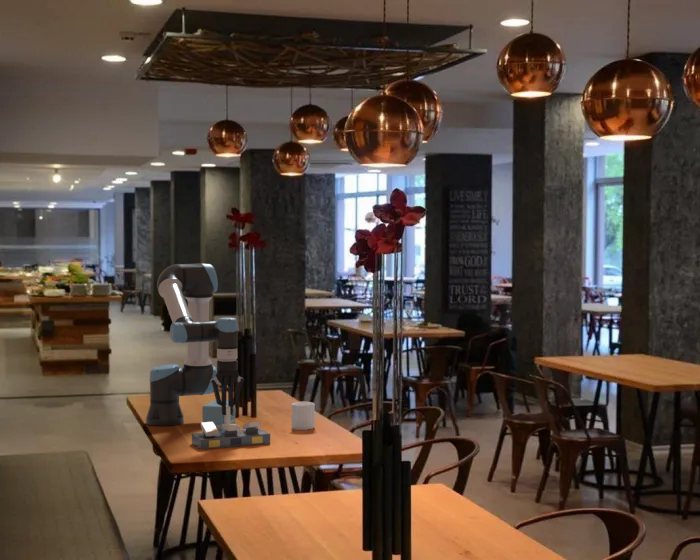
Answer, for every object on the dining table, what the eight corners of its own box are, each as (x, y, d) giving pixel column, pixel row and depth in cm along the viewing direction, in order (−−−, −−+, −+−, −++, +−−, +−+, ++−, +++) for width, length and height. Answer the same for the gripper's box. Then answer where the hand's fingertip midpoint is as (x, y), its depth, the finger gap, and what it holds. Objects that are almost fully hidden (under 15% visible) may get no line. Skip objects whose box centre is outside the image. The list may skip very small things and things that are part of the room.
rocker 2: (221, 428, 370) (221, 424, 370) (233, 427, 371) (233, 423, 371) (228, 430, 362) (228, 426, 362) (240, 430, 364) (239, 425, 364)
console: (191, 443, 367) (191, 430, 367) (259, 437, 378) (259, 424, 378) (200, 449, 356) (200, 436, 356) (270, 443, 367) (270, 430, 366)
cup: (296, 431, 391) (296, 406, 391) (287, 426, 400) (287, 402, 400) (318, 429, 395) (318, 404, 395) (309, 424, 404) (309, 400, 404)
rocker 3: (243, 429, 373) (242, 424, 373) (254, 428, 374) (254, 423, 375) (249, 427, 365) (249, 422, 366) (261, 426, 367) (260, 421, 367)
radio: (225, 438, 377) (224, 385, 377) (202, 437, 379) (201, 384, 378) (238, 430, 393) (237, 379, 392) (216, 429, 395) (215, 379, 394)
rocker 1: (200, 426, 366) (200, 422, 366) (212, 425, 368) (212, 421, 368) (206, 436, 359) (206, 432, 359) (218, 435, 361) (218, 431, 361)
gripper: (212, 362, 364) (212, 426, 365) (247, 360, 369) (247, 424, 370) (207, 359, 370) (207, 423, 372) (241, 357, 376) (241, 420, 377)
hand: (227, 423), depth 371 cm, fingers closed
